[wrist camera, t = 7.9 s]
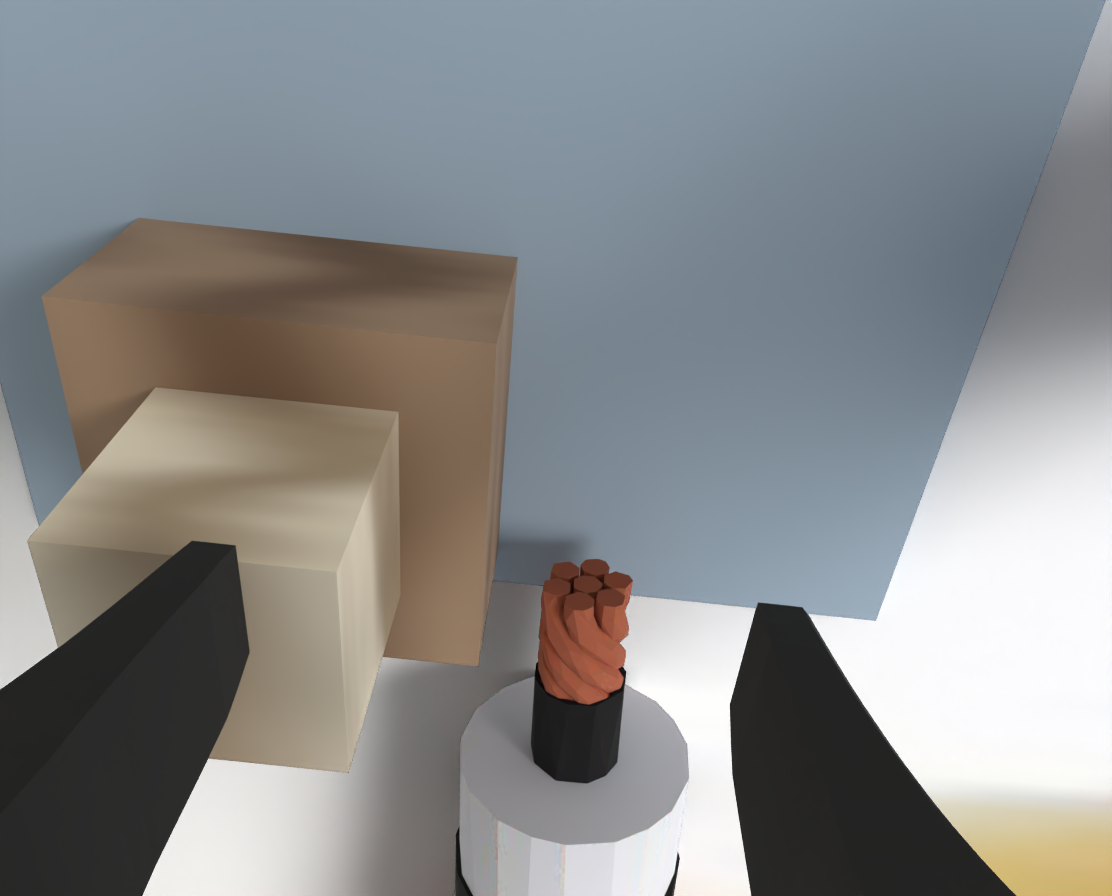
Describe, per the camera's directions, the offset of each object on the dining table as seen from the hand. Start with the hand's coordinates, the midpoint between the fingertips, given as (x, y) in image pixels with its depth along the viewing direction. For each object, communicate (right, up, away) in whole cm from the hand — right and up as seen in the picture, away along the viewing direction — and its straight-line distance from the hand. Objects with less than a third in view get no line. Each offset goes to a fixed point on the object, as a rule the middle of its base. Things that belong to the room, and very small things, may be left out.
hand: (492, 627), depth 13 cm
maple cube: (-4, +2, +5) cm, 7 cm away
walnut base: (-4, +4, +9) cm, 10 cm away
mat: (-1, +8, +7) cm, 10 cm away
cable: (+1, -13, +20) cm, 25 cm away
